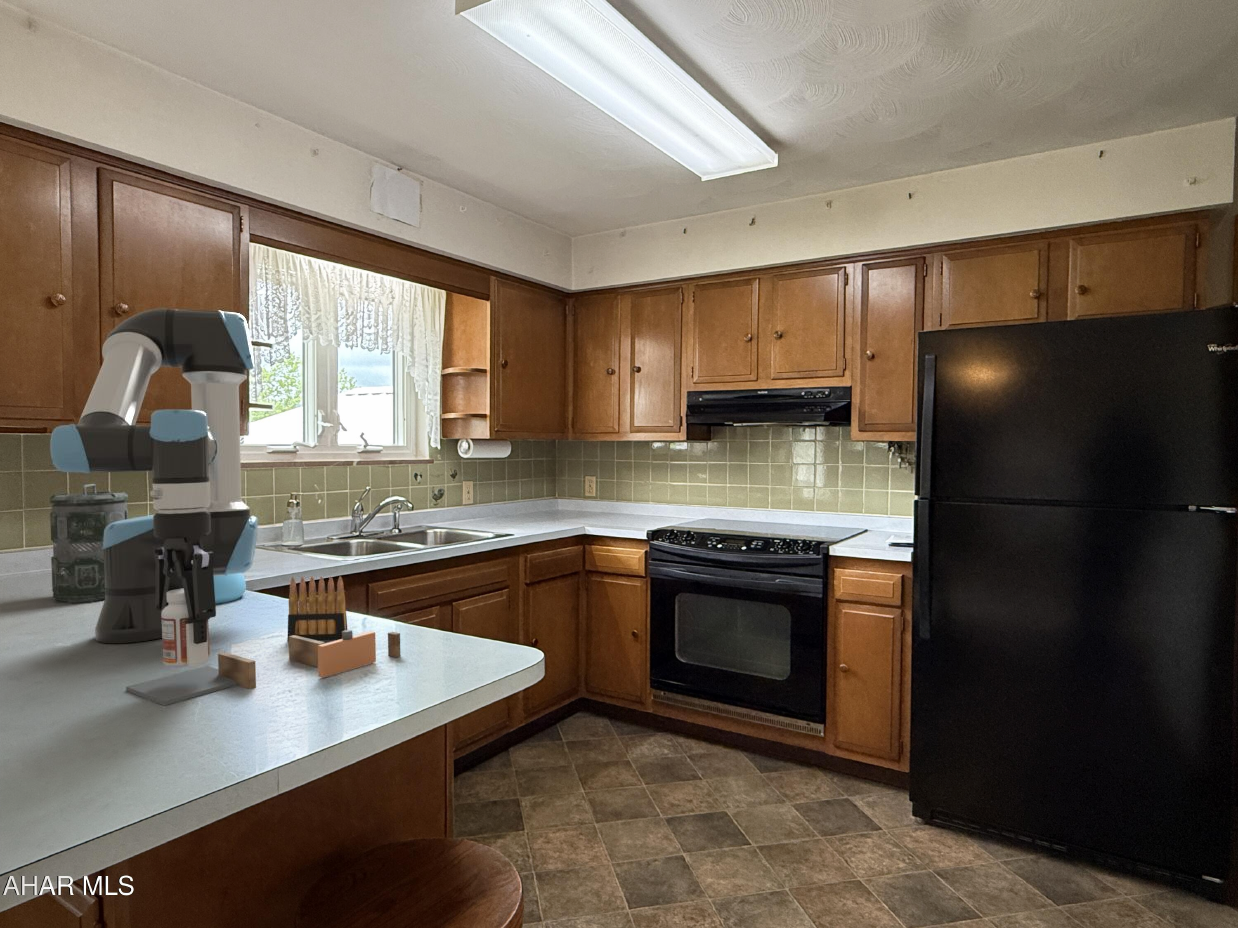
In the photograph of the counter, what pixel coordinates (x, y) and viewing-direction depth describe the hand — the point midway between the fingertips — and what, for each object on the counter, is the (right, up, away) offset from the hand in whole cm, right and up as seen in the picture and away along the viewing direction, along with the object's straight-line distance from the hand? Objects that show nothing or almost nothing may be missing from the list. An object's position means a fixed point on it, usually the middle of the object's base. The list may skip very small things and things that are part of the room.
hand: (186, 660), depth 112 cm
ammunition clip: (+9, -3, +27) cm, 28 cm away
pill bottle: (0, -1, 0) cm, 1 cm away
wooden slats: (+16, -4, +9) cm, 19 cm away
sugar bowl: (-32, -3, +64) cm, 71 cm away
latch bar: (+22, -4, +7) cm, 24 cm away
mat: (0, -4, 0) cm, 4 cm away
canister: (-64, -3, +68) cm, 94 cm away
